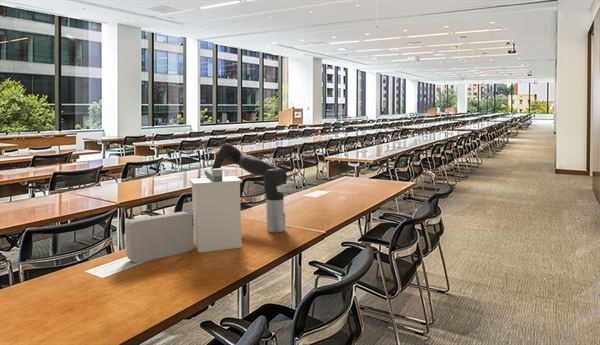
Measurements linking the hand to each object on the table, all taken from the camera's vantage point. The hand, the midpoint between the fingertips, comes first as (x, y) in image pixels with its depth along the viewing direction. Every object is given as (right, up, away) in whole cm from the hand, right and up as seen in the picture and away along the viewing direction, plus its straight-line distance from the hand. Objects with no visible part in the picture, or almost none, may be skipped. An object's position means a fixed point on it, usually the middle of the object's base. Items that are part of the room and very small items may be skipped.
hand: (207, 177), depth 236 cm
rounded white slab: (-14, -35, -34) cm, 50 cm away
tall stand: (+9, -32, -21) cm, 39 cm away
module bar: (+7, 0, -20) cm, 21 cm away
